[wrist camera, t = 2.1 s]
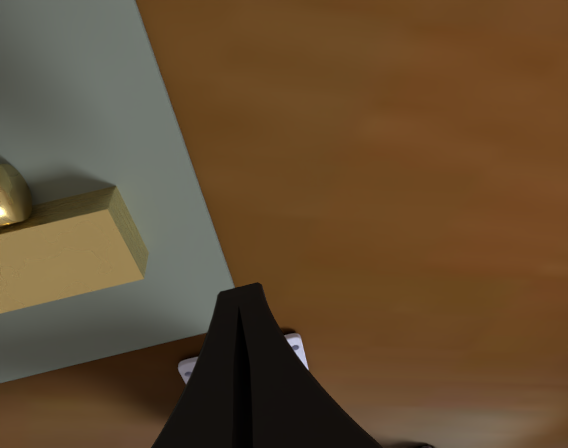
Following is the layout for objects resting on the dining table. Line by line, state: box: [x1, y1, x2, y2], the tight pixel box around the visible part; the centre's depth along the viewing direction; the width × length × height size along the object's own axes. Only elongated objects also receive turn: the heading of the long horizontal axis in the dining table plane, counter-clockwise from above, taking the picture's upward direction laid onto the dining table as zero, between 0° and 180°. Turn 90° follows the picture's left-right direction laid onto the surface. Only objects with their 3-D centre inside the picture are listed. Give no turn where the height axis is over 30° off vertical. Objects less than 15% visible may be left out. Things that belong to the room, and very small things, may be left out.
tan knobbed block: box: [0, 164, 149, 314], centre depth 18 cm, size 9×6×2 cm
